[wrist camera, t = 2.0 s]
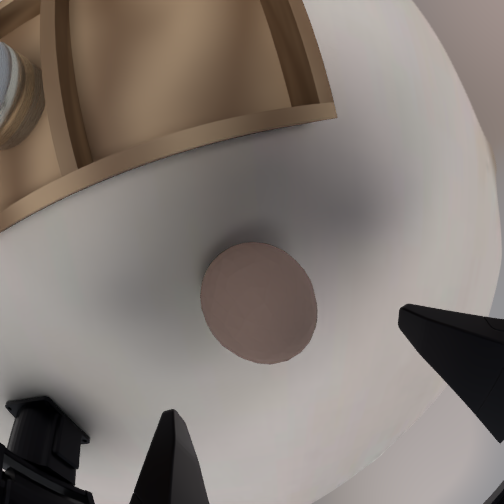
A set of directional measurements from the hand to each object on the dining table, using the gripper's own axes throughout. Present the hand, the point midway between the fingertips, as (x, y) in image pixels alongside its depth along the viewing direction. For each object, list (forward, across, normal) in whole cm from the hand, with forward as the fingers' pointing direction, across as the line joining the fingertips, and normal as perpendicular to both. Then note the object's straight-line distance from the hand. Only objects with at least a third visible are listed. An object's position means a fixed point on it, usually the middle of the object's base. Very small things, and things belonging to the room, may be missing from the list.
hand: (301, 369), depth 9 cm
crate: (+9, +4, -14) cm, 17 cm away
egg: (+9, 0, 0) cm, 9 cm away
